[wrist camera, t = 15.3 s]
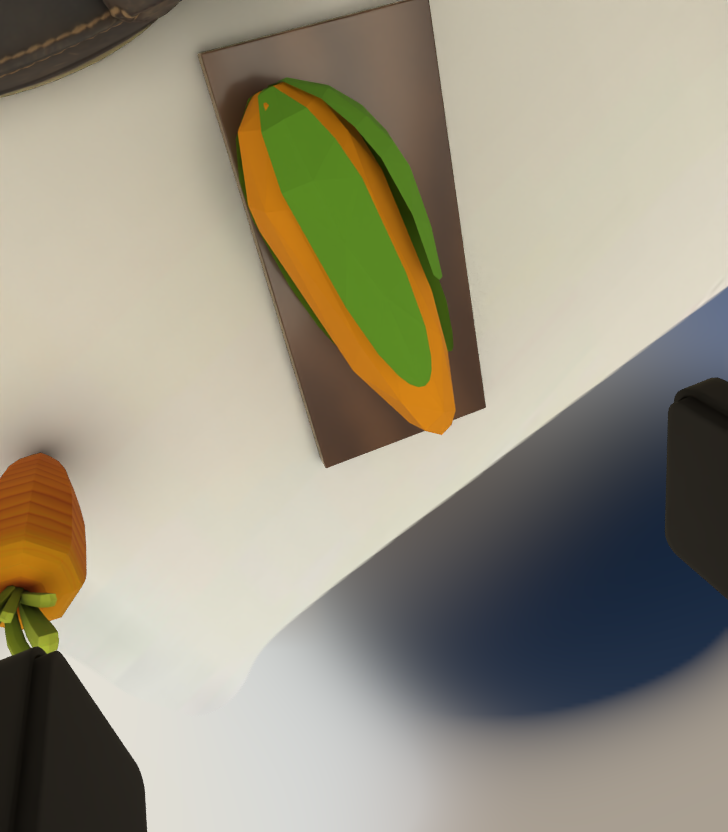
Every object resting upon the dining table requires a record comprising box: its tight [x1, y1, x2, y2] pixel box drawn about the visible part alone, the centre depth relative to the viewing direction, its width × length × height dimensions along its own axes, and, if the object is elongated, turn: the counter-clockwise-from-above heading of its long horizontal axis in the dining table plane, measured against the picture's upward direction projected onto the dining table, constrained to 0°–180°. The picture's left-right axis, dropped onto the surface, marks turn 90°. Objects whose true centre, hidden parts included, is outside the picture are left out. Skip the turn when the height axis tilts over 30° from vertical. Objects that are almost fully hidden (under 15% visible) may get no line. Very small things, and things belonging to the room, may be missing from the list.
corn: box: [236, 77, 456, 435], centre depth 33 cm, size 7×8×20 cm
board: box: [198, 0, 486, 468], centre depth 37 cm, size 11×23×1 cm, turn 12°
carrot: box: [0, 453, 86, 655], centre depth 30 cm, size 5×5×15 cm
